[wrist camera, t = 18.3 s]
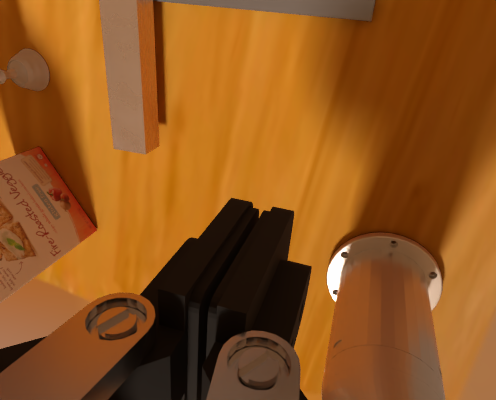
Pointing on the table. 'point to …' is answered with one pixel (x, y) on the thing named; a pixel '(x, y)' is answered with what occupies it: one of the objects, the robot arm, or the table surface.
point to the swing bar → (131, 73)
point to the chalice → (27, 70)
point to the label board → (297, 7)
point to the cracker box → (35, 219)
